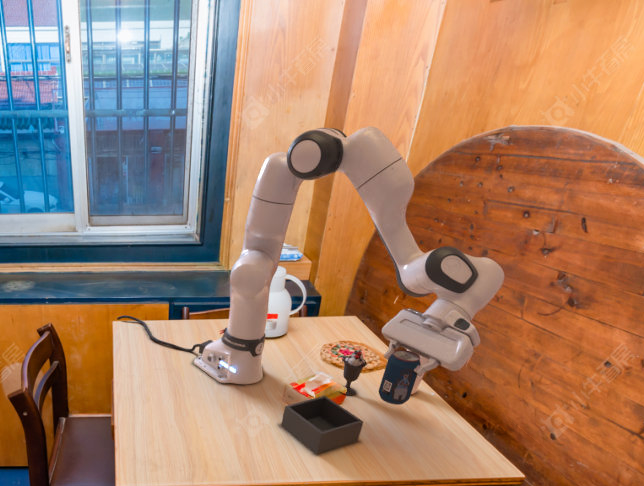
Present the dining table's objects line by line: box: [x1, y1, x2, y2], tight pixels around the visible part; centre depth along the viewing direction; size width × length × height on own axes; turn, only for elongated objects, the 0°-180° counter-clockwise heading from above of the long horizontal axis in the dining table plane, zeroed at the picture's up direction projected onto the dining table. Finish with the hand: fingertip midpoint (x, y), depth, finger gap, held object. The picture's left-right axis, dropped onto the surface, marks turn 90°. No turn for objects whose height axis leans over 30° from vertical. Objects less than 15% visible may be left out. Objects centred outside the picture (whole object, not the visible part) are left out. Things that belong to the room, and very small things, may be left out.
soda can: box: [378, 349, 421, 406], centre depth 122 cm, size 7×7×12 cm
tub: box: [280, 395, 364, 455], centre depth 132 cm, size 14×14×6 cm
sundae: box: [341, 348, 368, 396], centre depth 148 cm, size 7×7×15 cm
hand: (401, 366), depth 120 cm, fingers closed on soda can, 7 cm apart
